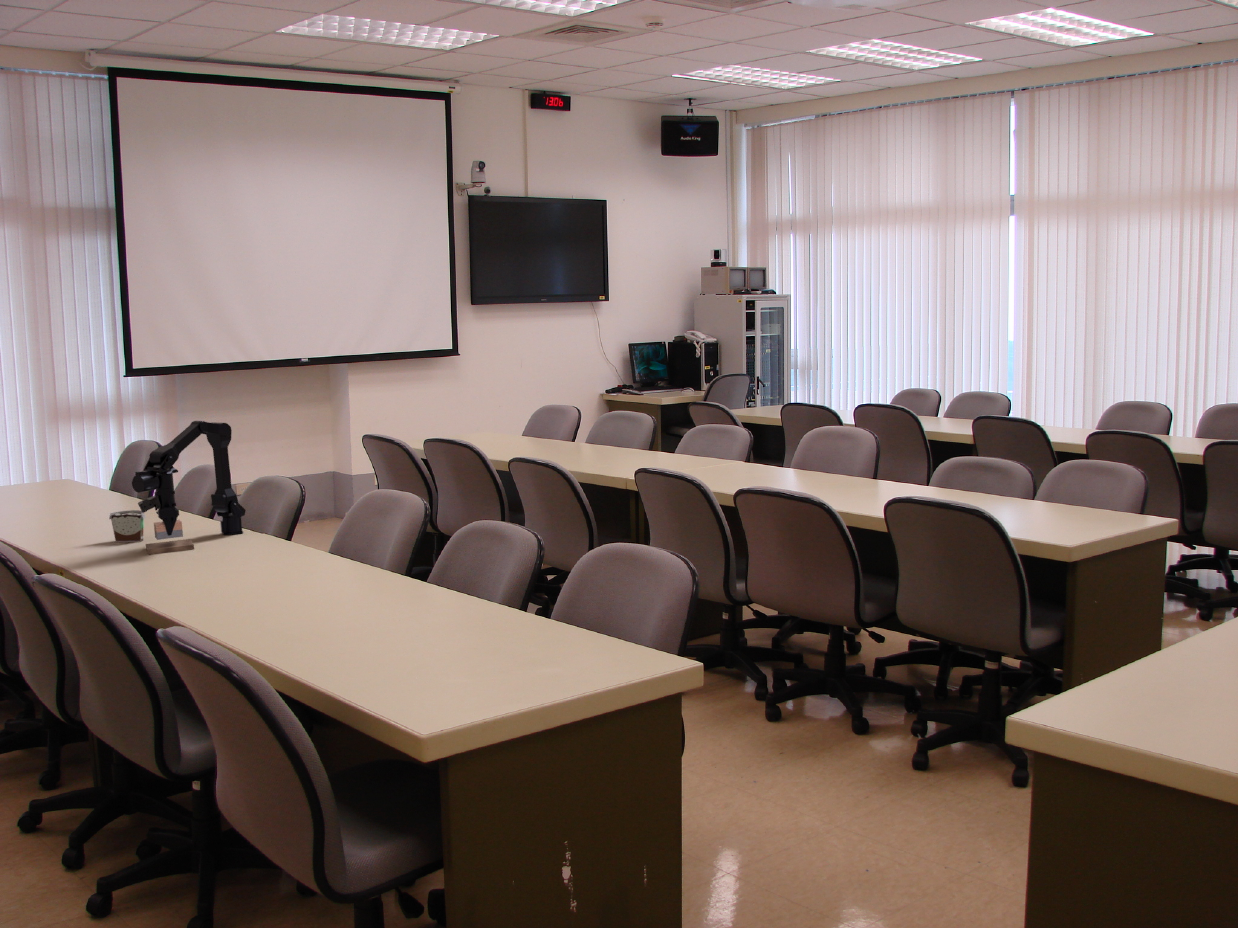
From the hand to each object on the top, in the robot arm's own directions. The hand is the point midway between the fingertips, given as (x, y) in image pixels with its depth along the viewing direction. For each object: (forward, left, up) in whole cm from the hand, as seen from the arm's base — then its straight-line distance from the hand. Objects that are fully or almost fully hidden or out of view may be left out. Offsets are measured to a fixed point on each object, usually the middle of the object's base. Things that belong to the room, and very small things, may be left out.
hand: (168, 533), depth 363 cm
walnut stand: (0, 0, -5) cm, 5 cm away
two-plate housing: (0, 0, -1) cm, 1 cm away
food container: (+10, -24, -5) cm, 27 cm away
